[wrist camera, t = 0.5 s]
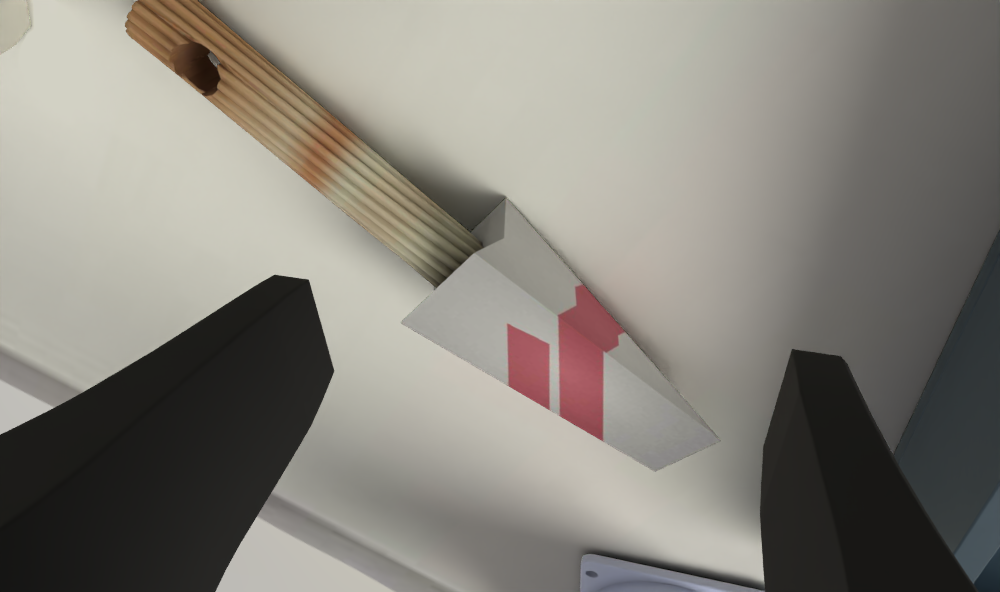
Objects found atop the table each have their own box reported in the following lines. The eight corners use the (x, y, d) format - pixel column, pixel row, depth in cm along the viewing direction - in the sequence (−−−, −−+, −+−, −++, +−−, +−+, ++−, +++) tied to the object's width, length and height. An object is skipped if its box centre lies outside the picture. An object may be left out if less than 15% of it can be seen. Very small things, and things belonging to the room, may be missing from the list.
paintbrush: (635, 513, 23) (94, 73, 19) (648, 448, 25) (162, 38, 21) (732, 474, 20) (134, -43, 16) (737, 405, 22) (208, -71, 18)
